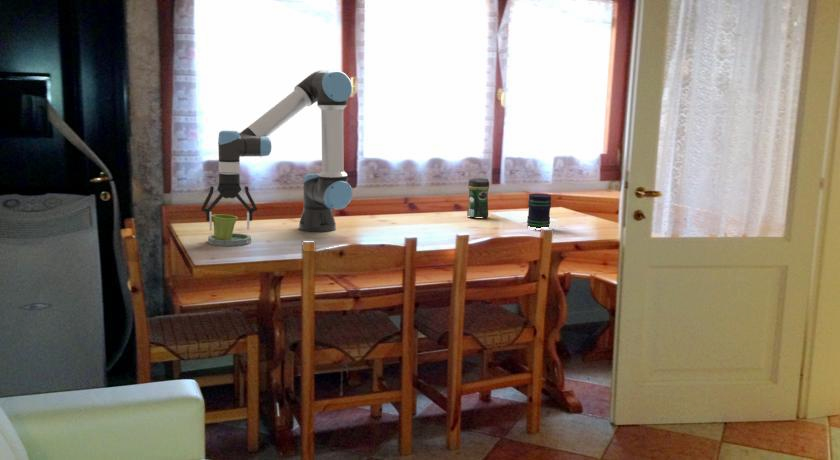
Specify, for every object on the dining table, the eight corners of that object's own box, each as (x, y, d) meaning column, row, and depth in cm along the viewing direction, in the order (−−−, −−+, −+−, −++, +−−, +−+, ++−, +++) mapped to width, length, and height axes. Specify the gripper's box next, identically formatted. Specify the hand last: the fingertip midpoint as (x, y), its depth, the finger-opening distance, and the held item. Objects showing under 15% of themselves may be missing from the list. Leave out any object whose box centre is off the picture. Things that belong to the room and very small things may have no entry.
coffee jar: (480, 215, 387) (482, 177, 384) (490, 218, 381) (492, 178, 377) (464, 216, 382) (465, 177, 379) (473, 219, 376) (475, 179, 372)
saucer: (258, 240, 309) (258, 235, 309) (238, 247, 295) (238, 242, 294) (221, 236, 313) (221, 231, 313) (200, 244, 299) (200, 238, 298)
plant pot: (222, 242, 297) (224, 219, 296) (204, 237, 302) (206, 214, 301) (240, 240, 305) (243, 218, 304) (222, 236, 310) (225, 213, 308)
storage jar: (553, 229, 356) (556, 195, 354) (541, 231, 349) (543, 197, 347) (535, 226, 363) (537, 193, 360) (522, 228, 356) (524, 194, 353)
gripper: (263, 172, 306) (262, 227, 310) (194, 171, 300) (195, 228, 304) (264, 174, 299) (264, 231, 303) (193, 173, 293) (194, 231, 297)
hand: (229, 229), depth 303 cm, fingers open, 13 cm apart
